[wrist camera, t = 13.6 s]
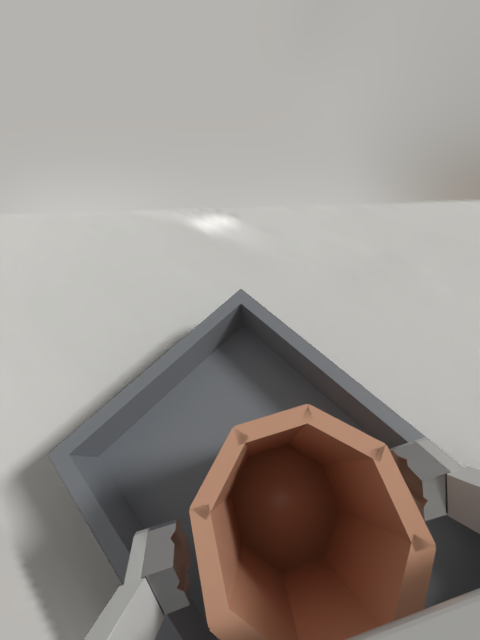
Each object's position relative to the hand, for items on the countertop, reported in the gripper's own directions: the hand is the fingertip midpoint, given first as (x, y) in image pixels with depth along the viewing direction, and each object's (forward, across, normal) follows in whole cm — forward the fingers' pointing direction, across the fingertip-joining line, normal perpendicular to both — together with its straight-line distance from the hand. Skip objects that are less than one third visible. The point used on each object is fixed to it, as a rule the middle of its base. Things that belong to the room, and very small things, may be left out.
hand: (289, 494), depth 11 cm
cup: (+4, 0, +5) cm, 6 cm away
